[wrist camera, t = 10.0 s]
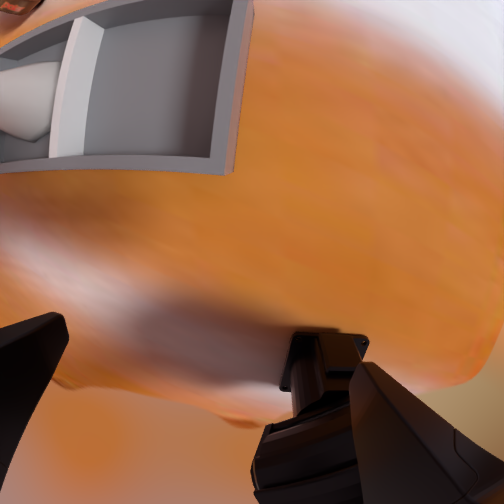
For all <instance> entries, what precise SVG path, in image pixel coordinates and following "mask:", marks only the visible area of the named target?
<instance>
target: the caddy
mask: <svg viewBox="0 0 504 504" xmlns="http://www.w3.org/2000/svg"><path fill="white" fill-rule="evenodd" d="M253 19H254V5H253V0H108V1H104V2H101V3H98V4H95V5H92V6H89V7H86V8H83V9H80V10H77V11H75V12H72V13H69V14H67V15H64V16H62V17H59V18H57V19H55V20H52V21H50V22H48V23H46V24H44V25H42V26H39V27H37V28H35V29H33V30H31V31H29V32H28V33H26V34H24V35H22V36H20V37H18V38H16V39H15V40H13V41H11V42H10V43H8V44H6V45H5V46H3V47H1V48H0V71H4V70H8V69H12V68H16V67H20V66H24V65H28V64H32V63H37V62H43V61H62V65H61V69H60V74H59V78H58V83H57V89H56V94H55V100H54V107H53V114H52V123H51V131H50V132H48V133H47V134H46V135H44V136H43V137H42V138H40V139H39V140H38V141H37V142H35V143H32V142H29V141H25V140H22V139H18V138H16V137H14V136H11V135H10V134H8V133H6V132H4V131H2V130H0V174H2V173H13V172H27V171H44V170H73V169H121V170H152V171H171V172H187V173H200V174H212V175H223V176H224V175H227V174H229V173H232V172H233V171H234V162H235V153H236V145H237V136H238V128H239V120H240V112H241V104H242V96H243V88H244V81H245V74H246V66H247V59H248V52H249V46H250V39H251V32H252V26H253Z"/></svg>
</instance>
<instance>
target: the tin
mask: <svg viewBox="0 0 504 504" xmlns="http://www.w3.org/2000/svg"><path fill="white" fill-rule="evenodd" d="M40 1H41V0H0V11H3V12H6V13H10V14H17V15H23V14H26V13H28V12H29V11H31V10H32V9H33V8H34V7H35V6H36V5H37V4H38V3H39V2H40Z"/></svg>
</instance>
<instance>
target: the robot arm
mask: <svg viewBox="0 0 504 504" xmlns="http://www.w3.org/2000/svg"><path fill="white" fill-rule="evenodd" d="M297 337H300V339H296V338H297ZM68 341H69V333H68V330H67V326H66V322H65V318H64V316H63V315H62V314H59V313H56V312H49V313H46V314H43V315H40V316H37V317H34V318H31V319H28V320H24V321H21V322H18V323H15V324H12V325H9V326H6V327H3V328H0V491H1V488H2V485H3V482H4V479H5V476H6V473H7V471H8V468H9V465H10V463H11V460H12V458H13V455H14V453H15V451H16V448H17V446H18V443H19V441H20V439H21V437H22V435H23V433H24V430H25V428H26V426H27V424H28V422H29V420H30V418H31V416H32V414H33V412H34V410H35V408H36V406H37V404H38V402H39V400H40V398H41V397H42V395H43V393H44V391H45V389H46V387H47V386H48V384H49V382H50V380H51V378H52V376H53V374H54V372H55V370H56V367H57V365H58V363H59V361H60V359H61V357H62V354H63V352H64V350H65V348H66V346H67V344H68ZM363 341H365V342H364V343H362V342H363ZM369 342H370V341H369V339H368V337H367V336H357V335H349V334H332V333H308V332H295V333H294V334H292V336H291V341H290V345H289V349H288V353H287V357H286V361H285V365H284V369H283V373H282V376H281V380H280V384H279V389H280V390H281V391H283V392H291V394H292V407H293V418H291V419H288V420H285V421H282V422H279V423H275V424H274V423H271V424H268V425H266V426H265V429H264V432H263V434H262V437H261V440H260V443H259V445H258V448H257V451H256V454H255V456H254V459H253V461H252V465H251V470H250V472H251V477H252V482H253V486H254V488H255V491H254V496H255V498H256V499H257V501H258V502H259V504H504V462H503V461H502V460H500V459H499V458H497V457H496V456H494V455H492V454H491V453H489V452H487V451H486V450H484V449H483V448H481V447H480V446H478V445H477V444H475V443H474V442H473V441H471V440H470V439H469V438H467V437H466V436H465V435H463V434H462V433H461V432H460V431H458V430H457V429H454V427H453V426H452V425H451V424H450V423H448V422H447V421H446V420H445V419H443V418H442V417H440V415H438V414H437V413H436V412H435V411H433V410H432V409H431V408H430V407H428V406H427V405H426V404H425V403H423V402H422V401H421V400H420V399H418V398H417V397H416V396H415V395H413V394H412V393H411V392H410V391H408V390H407V389H406V388H405V387H403V386H402V385H401V384H400V383H399V382H397V381H396V380H395V379H394V378H392V377H391V376H390V375H389V374H387V373H386V372H385V371H384V370H382V369H381V368H380V367H379V366H378V365H376V364H375V363H374V362H363V361H362V360H363V358H364V355H365V353H366V350H367V348H368V346H369ZM284 386H286V387H284Z"/></svg>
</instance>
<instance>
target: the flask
mask: <svg viewBox="0 0 504 504" xmlns="http://www.w3.org/2000/svg"><path fill="white" fill-rule="evenodd" d="M61 65H62V61H43V62H37V63H32V64H28V65H24V66H20V67H16V68H12V69H8V70H4V71H0V130H2V131H4V132H6V133H8V134H10V135H11V136H14V137H16V138H18V139H22V140H25V141H29V142H32V143H35V142H37V141H38V140H39V139H40V138H42V137H43V136H44V135H46V134H47V133H48V132H50V131H51V123H52V114H53V107H54V100H55V94H56V89H57V83H58V78H59V74H60V69H61Z"/></svg>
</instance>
